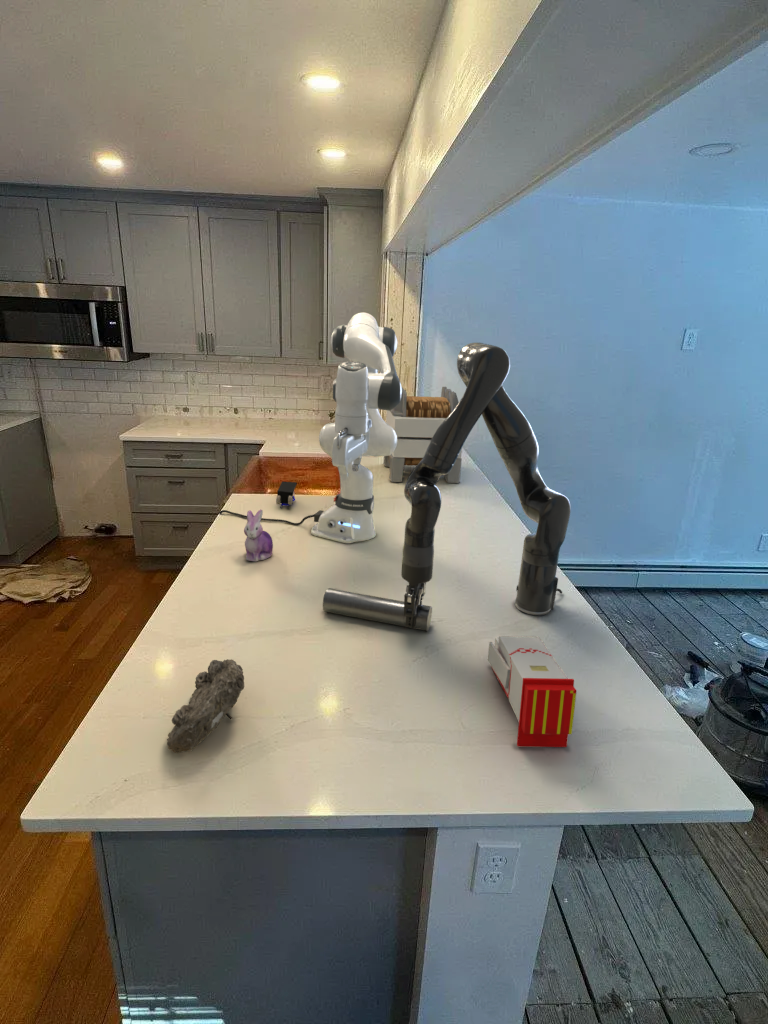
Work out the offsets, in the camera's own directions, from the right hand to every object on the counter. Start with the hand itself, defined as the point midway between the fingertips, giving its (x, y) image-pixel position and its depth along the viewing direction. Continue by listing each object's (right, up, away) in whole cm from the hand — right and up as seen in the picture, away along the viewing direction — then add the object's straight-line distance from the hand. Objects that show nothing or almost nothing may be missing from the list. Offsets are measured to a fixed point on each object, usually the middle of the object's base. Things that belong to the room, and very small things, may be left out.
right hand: (413, 620), depth 142 cm
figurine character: (-46, +30, +82) cm, 99 cm away
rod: (-9, 0, +3) cm, 10 cm away
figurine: (-46, +13, +36) cm, 60 cm away
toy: (+21, -12, -25) cm, 35 cm away
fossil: (-40, -12, -33) cm, 54 cm away
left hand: (-17, +37, +14) cm, 43 cm away
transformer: (+10, +46, +133) cm, 141 cm away
